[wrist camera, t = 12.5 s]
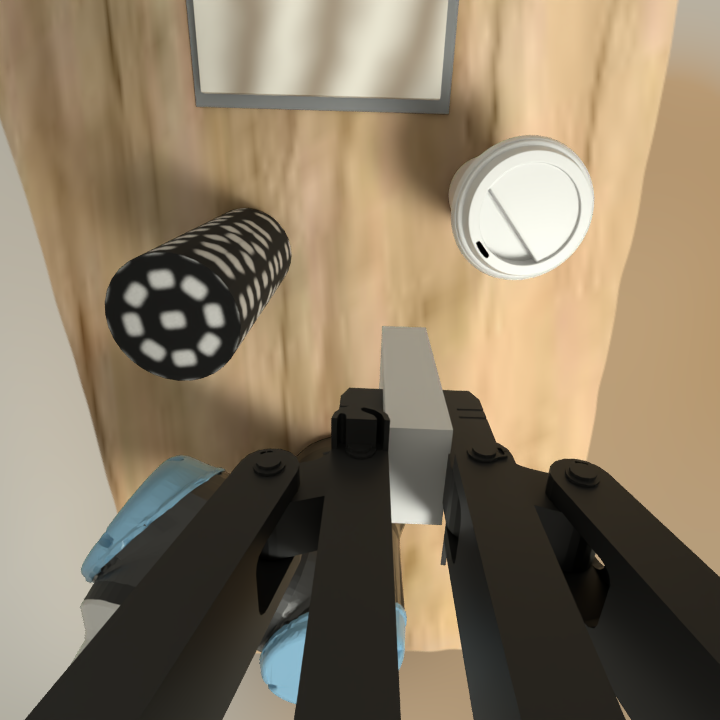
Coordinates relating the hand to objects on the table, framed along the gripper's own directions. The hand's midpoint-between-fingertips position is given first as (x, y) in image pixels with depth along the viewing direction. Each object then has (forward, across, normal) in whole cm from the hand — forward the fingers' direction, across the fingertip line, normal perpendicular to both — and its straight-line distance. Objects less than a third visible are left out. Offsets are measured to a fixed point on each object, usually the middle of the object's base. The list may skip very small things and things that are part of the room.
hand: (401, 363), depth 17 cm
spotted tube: (+33, -13, -3) cm, 35 cm away
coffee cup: (+33, +9, +3) cm, 34 cm away
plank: (+32, -6, +15) cm, 36 cm away
